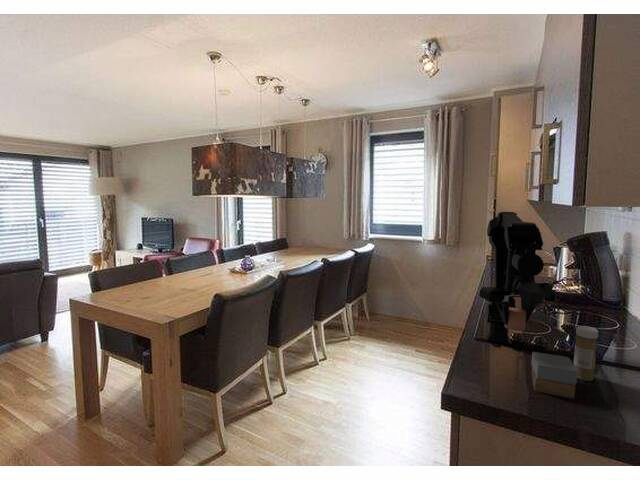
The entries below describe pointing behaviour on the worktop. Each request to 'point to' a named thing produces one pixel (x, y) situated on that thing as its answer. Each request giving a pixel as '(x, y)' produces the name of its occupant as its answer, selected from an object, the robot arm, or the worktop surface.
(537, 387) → the beige square block
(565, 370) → the grey top block
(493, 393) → the worktop surface
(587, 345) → the sprinkles bottle
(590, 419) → the worktop surface
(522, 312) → the orange clay cylinder
